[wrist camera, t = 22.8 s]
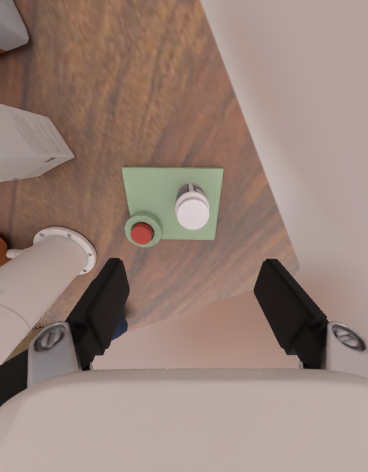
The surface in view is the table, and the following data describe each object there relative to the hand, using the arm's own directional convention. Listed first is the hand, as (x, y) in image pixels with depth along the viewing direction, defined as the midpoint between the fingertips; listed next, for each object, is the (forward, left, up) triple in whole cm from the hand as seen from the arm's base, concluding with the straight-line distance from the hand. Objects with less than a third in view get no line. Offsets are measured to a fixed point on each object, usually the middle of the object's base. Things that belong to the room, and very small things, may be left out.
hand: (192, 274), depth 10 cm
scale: (-3, -2, -20) cm, 20 cm away
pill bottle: (0, 0, -18) cm, 18 cm away
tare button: (-8, -6, -17) cm, 19 cm away
